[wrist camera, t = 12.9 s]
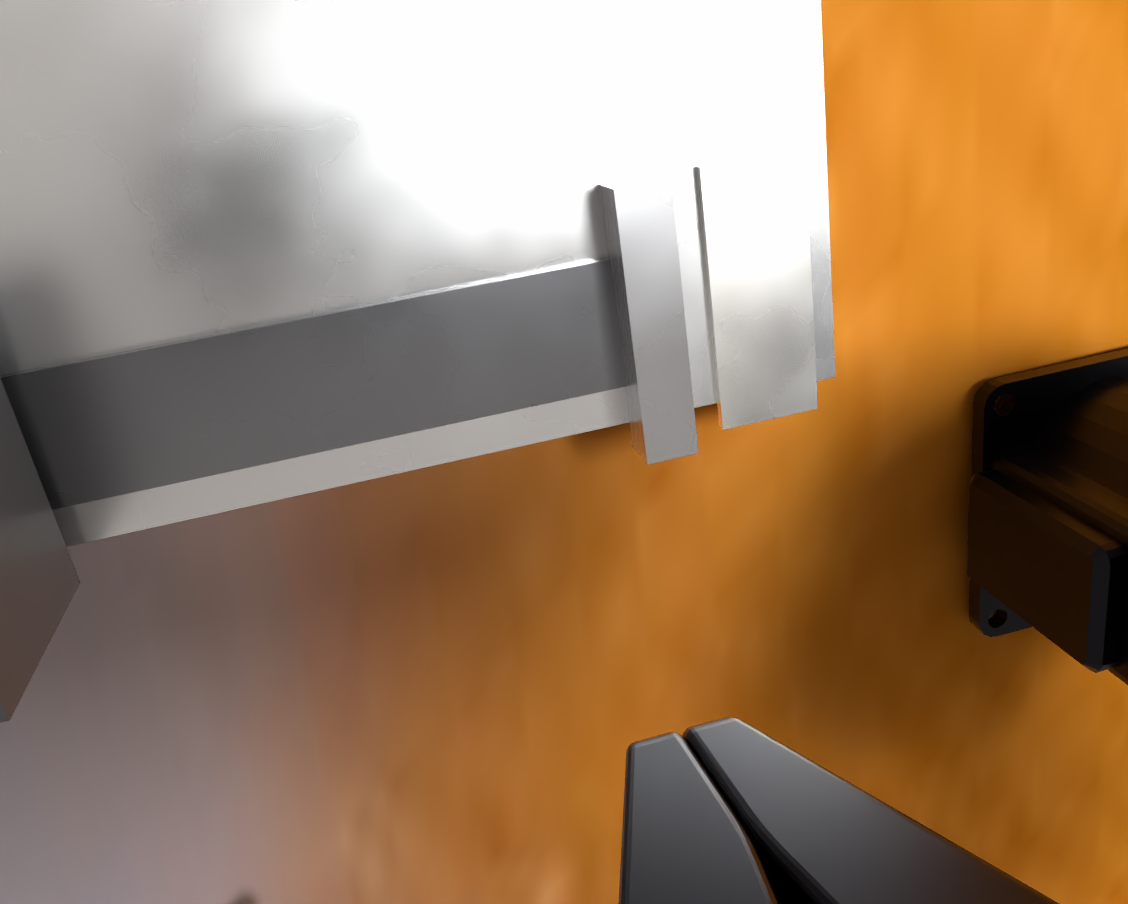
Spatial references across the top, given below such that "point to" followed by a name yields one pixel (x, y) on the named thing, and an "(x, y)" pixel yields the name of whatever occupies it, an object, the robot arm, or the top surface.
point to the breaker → (26, 565)
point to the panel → (397, 236)
